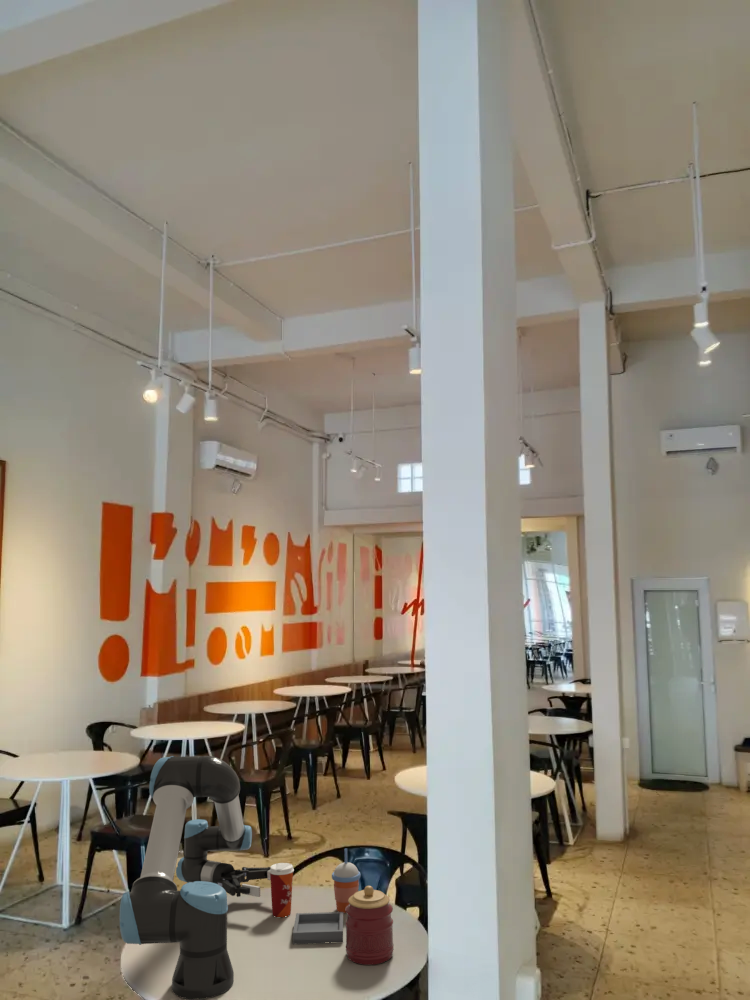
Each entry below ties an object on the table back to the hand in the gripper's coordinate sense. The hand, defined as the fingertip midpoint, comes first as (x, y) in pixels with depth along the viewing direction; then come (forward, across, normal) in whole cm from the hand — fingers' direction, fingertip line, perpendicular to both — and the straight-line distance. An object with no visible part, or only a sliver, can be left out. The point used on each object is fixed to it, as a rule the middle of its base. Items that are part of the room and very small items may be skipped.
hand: (272, 884), depth 241 cm
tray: (+22, +8, -8) cm, 24 cm away
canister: (+42, +14, -8) cm, 45 cm away
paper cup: (+4, +1, -8) cm, 9 cm away
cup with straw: (+20, -11, -8) cm, 24 cm away
